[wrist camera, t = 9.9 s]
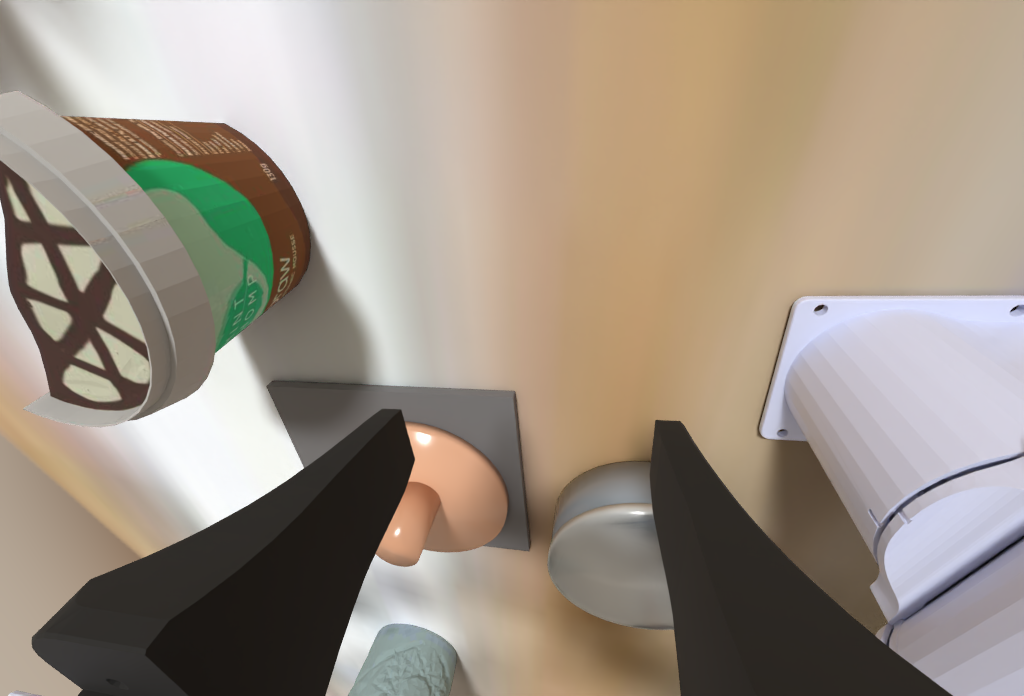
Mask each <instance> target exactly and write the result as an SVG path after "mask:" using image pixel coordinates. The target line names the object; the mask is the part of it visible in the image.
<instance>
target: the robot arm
mask: <svg viewBox="0 0 1024 696" xmlns="http://www.w3.org/2000/svg"><path fill="white" fill-rule="evenodd" d="M822 304H823V305H824V307H823V308H822V309H821V310H820V311H816V312H815V311H814V309H815V308H816V307H817V306H818V305H822ZM1017 305H1019V307H1018V308H1017V309H1016V310H1014V311H1012V312H1010V311H1011V309H1012V308H1013V307H1015V306H1017ZM781 429H785V430H783V431H781V432H778V431H779V430H781ZM759 431H760V433H761V435H762V436H763V437H764V438H767V439H777V440H795V441H808V443H809V445H810V446H811V448H812V450H813V452H814V453H815V455H816V457H817V459H818V461H819V462H820V464H821V466H822V468H823V469H824V471H825V473H826V475H827V476H828V478H829V480H830V482H831V483H832V485H833V487H834V489H835V490H836V492H837V494H838V496H839V497H840V499H841V501H842V503H843V504H844V506H845V508H846V510H847V511H848V513H849V515H850V517H851V518H852V520H853V522H854V524H855V525H856V527H857V529H858V531H859V533H860V534H861V536H862V538H863V540H864V541H865V543H866V545H867V547H868V548H869V550H870V552H871V554H872V555H873V557H874V559H875V561H876V562H877V564H878V566H879V570H880V571H879V576H878V578H877V579H876V581H875V582H874V583H873V584H872V585H871V586H870V589H871V591H872V593H873V595H874V597H875V599H876V601H877V603H878V604H879V606H880V608H881V610H882V612H883V614H884V616H885V618H886V620H887V622H888V624H886V625H885V626H883V627H882V628H881V629H879V630H878V632H877V633H876V635H873V634H872V633H871V632H870V631H869V630H867V629H866V628H865V627H864V626H863V625H861V624H860V623H859V622H858V621H856V620H855V619H854V618H853V617H852V616H851V615H849V614H848V613H847V612H846V611H845V610H844V609H843V608H842V607H841V606H839V605H838V604H837V603H836V602H835V601H834V600H833V599H832V598H831V597H829V596H828V595H827V594H826V593H825V592H824V591H823V590H822V589H820V588H819V587H818V586H817V585H816V584H815V583H814V582H813V581H812V580H810V579H809V578H808V577H807V576H806V575H805V574H804V573H803V572H802V571H801V570H800V569H799V568H798V567H797V566H796V565H795V564H794V563H793V562H792V561H791V560H790V559H789V558H788V557H787V556H786V555H785V554H784V553H783V552H782V551H781V550H780V549H779V548H778V547H777V546H776V545H775V544H774V543H773V541H772V540H771V539H770V538H769V537H768V536H767V535H766V534H765V533H764V532H763V531H762V530H761V529H760V527H759V526H758V525H757V524H756V523H755V522H754V521H753V519H752V518H751V517H750V516H749V515H748V514H747V512H746V511H745V510H744V509H743V508H742V506H741V505H740V504H739V503H738V502H737V500H736V499H735V498H734V497H733V495H732V494H731V493H730V492H729V490H728V489H727V488H726V486H725V485H724V484H723V482H722V481H721V480H720V478H719V477H718V476H717V474H716V473H715V472H714V470H713V469H712V468H711V466H710V465H709V463H708V462H707V460H706V459H705V458H704V456H703V455H702V453H701V452H700V450H699V449H698V447H697V446H696V444H695V443H694V441H693V439H692V438H691V436H690V435H689V433H688V431H687V430H686V428H685V426H684V425H683V424H682V423H681V422H680V421H663V420H656V421H655V430H654V439H653V448H652V457H651V466H650V488H651V499H652V510H653V516H654V521H655V526H656V531H657V536H658V541H659V546H660V551H661V556H662V561H663V566H664V571H665V576H666V581H667V586H668V591H669V596H670V602H671V608H672V614H673V623H674V632H675V641H676V650H677V660H678V670H679V680H680V690H681V696H1024V296H805V297H802V298H799V299H798V300H797V301H795V302H794V304H793V306H792V309H791V313H790V316H789V320H788V324H787V327H786V331H785V335H784V338H783V342H782V346H781V349H780V353H779V357H778V360H777V364H776V368H775V371H774V375H773V379H772V382H771V386H770V390H769V393H768V397H767V401H766V404H765V408H764V412H763V415H762V419H761V423H760V426H759ZM414 462H415V457H414V453H413V450H412V446H411V442H410V439H409V435H408V432H407V428H406V424H405V421H404V417H403V414H402V410H401V409H381V410H380V411H378V412H377V413H375V414H374V415H373V416H372V417H370V418H369V419H368V420H366V421H365V422H364V423H363V424H361V425H360V426H359V427H358V428H356V429H355V430H354V431H353V432H351V433H350V434H349V435H348V436H346V437H345V438H344V439H342V440H341V441H340V442H339V443H337V444H336V445H335V446H334V447H332V448H331V449H330V450H328V451H327V452H326V453H325V454H323V455H322V456H321V457H319V458H318V459H316V460H315V461H314V462H312V463H311V464H310V465H308V466H307V467H305V468H304V469H303V470H301V471H300V472H299V473H297V474H296V475H294V476H293V477H292V478H290V479H289V480H287V481H286V482H284V483H283V484H281V485H280V486H278V487H277V488H275V489H274V490H272V491H270V492H269V493H267V494H266V495H264V496H262V497H261V498H259V499H258V500H256V501H254V502H253V503H251V504H249V505H248V506H246V507H244V508H242V509H241V510H239V511H237V512H235V513H233V514H231V515H230V516H228V517H226V518H224V519H222V520H221V521H219V522H217V523H215V524H213V525H211V526H210V527H208V528H206V529H204V530H202V531H200V532H198V533H196V534H194V535H192V536H190V537H188V538H186V539H184V540H182V541H179V542H177V543H175V544H173V545H171V546H169V547H166V548H164V549H162V550H160V551H158V552H156V553H153V554H151V555H149V556H146V557H144V558H142V559H139V560H137V561H134V562H132V563H130V564H127V565H125V566H122V567H120V568H117V569H115V570H113V571H110V572H108V573H105V574H103V575H100V576H98V577H95V578H93V579H91V580H89V581H88V582H87V583H86V584H85V585H84V586H83V587H82V588H81V589H80V590H79V591H78V592H77V593H76V594H75V595H74V596H73V597H72V598H71V599H70V600H69V601H68V602H67V603H66V604H65V605H64V606H63V607H62V608H61V609H60V610H59V611H58V612H57V613H56V614H55V615H54V616H53V617H52V618H51V619H50V620H49V621H48V622H47V623H46V624H45V625H44V626H43V627H42V628H41V629H40V630H39V631H38V632H37V633H36V634H35V635H34V636H33V637H32V648H33V649H34V650H35V652H36V653H37V654H38V656H40V657H41V658H42V659H43V660H44V661H45V662H47V663H48V664H49V665H51V666H52V667H53V668H55V669H56V670H58V671H59V672H60V673H61V674H63V675H64V676H65V677H67V678H68V679H69V680H71V681H72V682H74V683H75V684H76V685H78V686H79V687H80V688H81V689H83V690H82V691H81V692H80V693H79V695H78V696H325V695H326V691H327V688H328V685H329V682H330V678H331V675H332V672H333V669H334V665H335V662H336V659H337V656H338V652H339V649H340V646H341V643H342V640H343V637H344V634H345V632H346V629H347V626H348V623H349V620H350V617H351V614H352V611H353V608H354V605H355V603H356V600H357V597H358V595H359V592H360V589H361V586H362V584H363V581H364V578H365V576H366V573H367V571H368V569H369V566H370V564H371V562H372V560H373V558H374V556H375V553H376V551H377V549H378V547H379V545H380V543H381V541H382V539H383V537H384V535H385V533H386V531H387V529H388V526H389V524H390V522H391V520H392V518H393V516H394V514H395V512H396V510H397V508H398V505H399V503H400V501H401V499H402V497H403V495H404V492H405V490H406V487H407V484H408V481H409V478H410V475H411V472H412V469H413V465H414ZM8 696H40V695H35V694H31V693H26V692H21V691H15V692H12V693H10V694H9V695H8Z"/></svg>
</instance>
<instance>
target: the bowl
mask: <svg viewBox="0 0 1024 696" xmlns="http://www.w3.org/2000/svg"><path fill="white" fill-rule="evenodd" d="M650 466H651V462H645V461H629V462H618V463H612V464H607V465H603V466H599V467H596V468H594V469H591V470H589V471H587V472H585V473H583V474H581V475H579V476H578V477H576V478H575V479H574V480H572V481H571V482H570V483H569V484H568V485H567V486H566V487H565V488H564V489H563V491H562V492H561V494H560V496H559V498H558V500H557V503H556V508H555V516H554V525H553V533H552V541H551V543H550V547H549V553H548V571H549V574H550V577H551V579H552V581H553V583H554V585H555V586H556V588H557V589H558V590H559V591H560V592H561V594H562V595H563V596H565V597H566V598H567V599H568V600H569V601H570V602H572V603H573V604H574V605H576V606H577V607H579V608H581V609H582V610H584V611H586V612H588V613H590V614H592V615H594V616H596V617H599V618H601V619H603V620H606V621H609V622H613V623H616V624H620V625H624V626H628V627H634V628H641V629H649V630H674V623H673V614H672V608H671V602H670V596H669V591H668V586H667V581H666V576H665V571H664V566H663V561H662V556H661V551H660V546H659V541H658V536H657V531H656V526H655V521H654V516H653V510H652V499H651V488H650Z"/></svg>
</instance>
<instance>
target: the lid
mask: <svg viewBox="0 0 1024 696" xmlns="http://www.w3.org/2000/svg"><path fill="white" fill-rule="evenodd" d="M405 424H406V428H407V432H408V435H409V439H410V442H411V446H412V450H413V453H414V457H415V462H414V465H413V469H412V472H411V475H410V478H409V481H408V484H407V487H406V490H405V492H404V495H403V497H402V499H401V501H400V503H399V505H398V508H397V510H396V512H395V514H394V516H393V518H392V520H391V522H390V524H389V526H388V529H387V531H386V533H385V535H384V537H383V539H382V541H381V543H380V545H379V547H378V549H377V551H376V553H375V554H376V555H377V556H379V557H380V558H381V559H383V560H384V561H386V562H388V563H390V564H393V565H397V566H404V567H407V566H412V565H415V564H416V563H417V562H418V560H419V558H420V555H421V553H422V550H423V549H425V550H429V551H437V552H461V551H468V550H472V549H476V548H478V547H481V546H483V545H485V544H487V543H488V542H490V541H491V540H493V539H494V538H495V537H496V536H497V535H498V534H499V533H500V531H501V530H502V528H503V526H504V523H505V520H506V516H507V511H508V506H509V497H508V491H507V487H506V484H505V482H504V480H503V478H502V476H501V474H500V473H499V471H498V470H497V468H496V467H495V466H494V464H493V463H492V462H491V461H490V460H489V459H488V458H487V457H486V456H485V455H484V454H483V453H482V452H481V451H479V450H478V449H477V448H475V447H474V446H473V445H471V444H470V443H468V442H467V441H465V440H463V439H462V438H460V437H458V436H456V435H454V434H452V433H450V432H448V431H445V430H442V429H440V428H437V427H434V426H430V425H426V424H422V423H416V422H407V421H405Z"/></svg>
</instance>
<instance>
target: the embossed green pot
mask: <svg viewBox="0 0 1024 696" xmlns="http://www.w3.org/2000/svg"><path fill="white" fill-rule="evenodd" d="M455 666H456V652H455V650H454V648H453V647H452V646H451V645H450V644H449V643H448V642H447V641H446V640H445V639H443V638H442V637H440V636H439V635H437V634H435V633H433V632H431V631H429V630H426V629H424V628H420V627H417V626H413V625H407V624H391V625H387V626H385V627H383V628H382V629H381V630H380V631H379V633H378V634H377V636H376V638H375V640H374V642H373V645H372V647H371V649H370V651H369V654H368V656H367V658H366V660H365V662H364V664H363V666H362V668H361V670H360V672H359V674H358V676H357V678H356V681H355V684H354V686H353V688H352V689H351V691H350V693H349V695H348V696H449V693H450V690H451V686H452V681H453V676H454V671H455Z"/></svg>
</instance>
